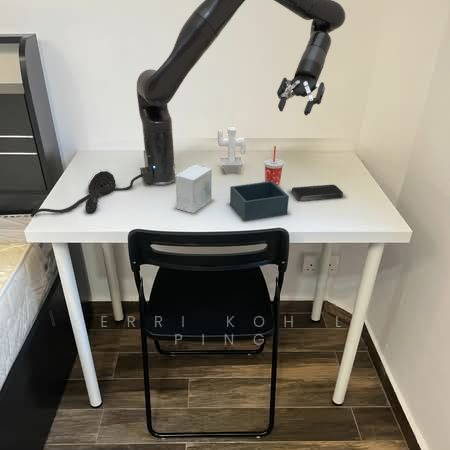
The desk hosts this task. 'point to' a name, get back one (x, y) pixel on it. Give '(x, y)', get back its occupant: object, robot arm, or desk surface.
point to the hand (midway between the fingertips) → (292, 112)
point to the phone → (317, 192)
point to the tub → (258, 200)
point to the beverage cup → (273, 169)
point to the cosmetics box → (193, 188)
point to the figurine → (231, 151)
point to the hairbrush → (98, 182)
